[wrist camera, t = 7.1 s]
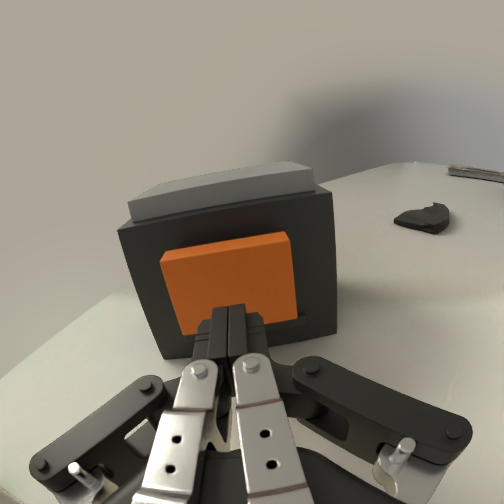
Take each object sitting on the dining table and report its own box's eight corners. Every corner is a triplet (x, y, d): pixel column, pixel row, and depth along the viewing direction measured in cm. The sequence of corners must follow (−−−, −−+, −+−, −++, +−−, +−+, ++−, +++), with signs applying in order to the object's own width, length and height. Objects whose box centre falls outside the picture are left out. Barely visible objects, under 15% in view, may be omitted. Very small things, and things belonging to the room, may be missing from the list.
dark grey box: (181, 298, 30) (151, 185, 26) (308, 277, 30) (296, 159, 26) (162, 362, 21) (108, 209, 16) (338, 336, 21) (331, 169, 16)
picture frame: (450, 171, 86) (450, 164, 85) (506, 179, 68) (507, 171, 67) (446, 176, 78) (446, 167, 77) (509, 184, 60) (509, 175, 59)
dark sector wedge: (463, 216, 40) (463, 207, 40) (435, 236, 35) (435, 225, 34) (426, 207, 47) (426, 199, 47) (391, 224, 42) (391, 214, 41)
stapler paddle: (186, 321, 18) (165, 250, 16) (293, 304, 18) (284, 230, 16) (182, 336, 17) (158, 261, 15) (297, 318, 16) (289, 239, 15)
